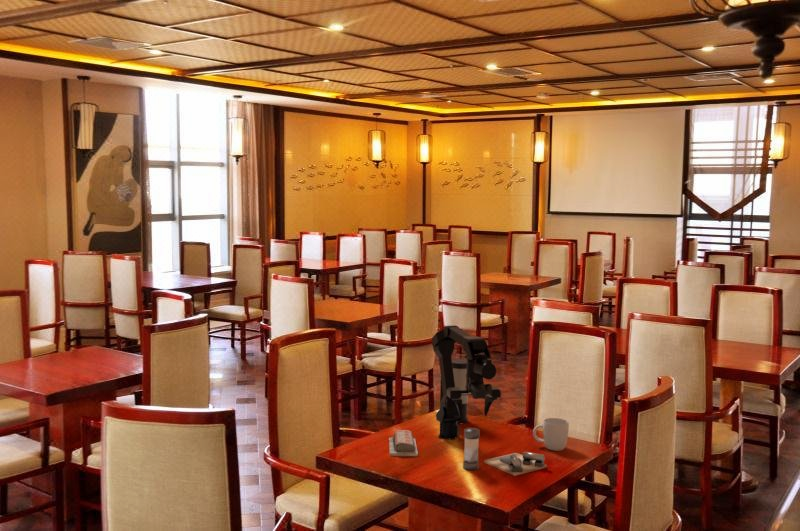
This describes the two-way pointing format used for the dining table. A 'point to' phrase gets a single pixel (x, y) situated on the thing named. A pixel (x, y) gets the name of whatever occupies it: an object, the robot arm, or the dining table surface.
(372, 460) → the dining table surface
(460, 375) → the light fixture
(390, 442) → the packaged product
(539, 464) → the shaft
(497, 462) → the board
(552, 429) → the mug
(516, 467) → the shaft
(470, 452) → the drinking glass
